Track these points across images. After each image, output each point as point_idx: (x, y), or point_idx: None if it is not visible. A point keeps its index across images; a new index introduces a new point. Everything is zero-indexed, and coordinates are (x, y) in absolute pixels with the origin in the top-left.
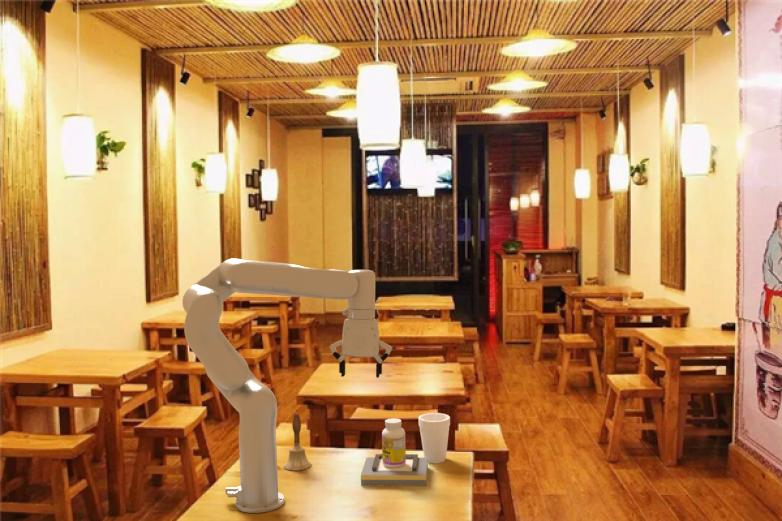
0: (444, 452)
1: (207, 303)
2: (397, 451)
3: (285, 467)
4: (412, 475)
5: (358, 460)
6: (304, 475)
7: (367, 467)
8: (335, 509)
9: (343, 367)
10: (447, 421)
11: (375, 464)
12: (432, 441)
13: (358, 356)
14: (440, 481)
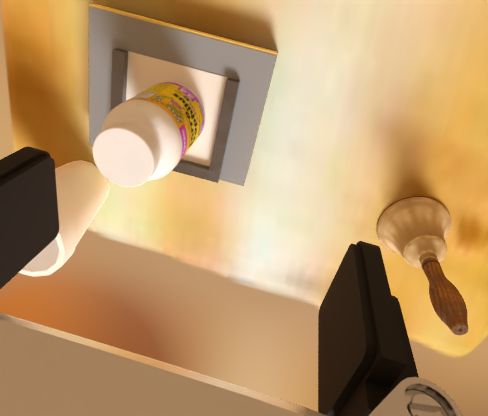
0: None
1: None
2: (149, 90)
3: (449, 217)
4: (128, 15)
5: (260, 222)
6: (412, 162)
7: (249, 111)
8: None
9: (366, 304)
10: None
11: (226, 104)
12: (58, 179)
13: (112, 347)
14: (68, 32)
